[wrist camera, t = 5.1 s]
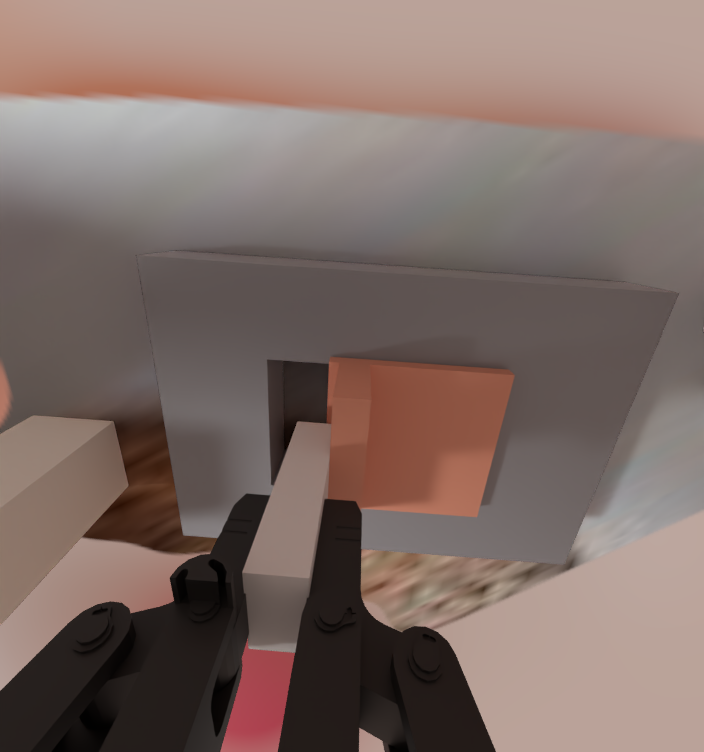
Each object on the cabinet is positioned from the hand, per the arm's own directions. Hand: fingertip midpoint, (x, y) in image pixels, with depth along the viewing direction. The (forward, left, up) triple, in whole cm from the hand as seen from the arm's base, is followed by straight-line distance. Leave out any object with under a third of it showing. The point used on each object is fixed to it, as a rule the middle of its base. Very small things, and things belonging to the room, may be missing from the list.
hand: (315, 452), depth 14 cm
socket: (+3, 0, -5) cm, 5 cm away
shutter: (+4, 0, -2) cm, 4 cm away
